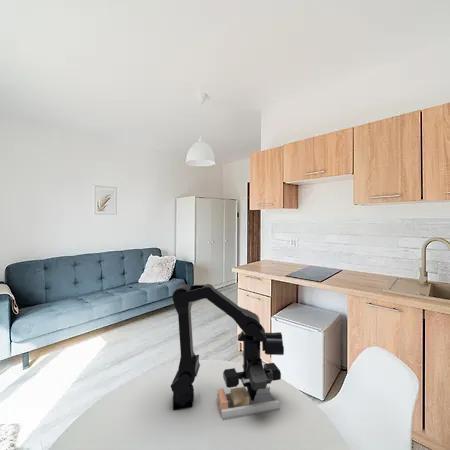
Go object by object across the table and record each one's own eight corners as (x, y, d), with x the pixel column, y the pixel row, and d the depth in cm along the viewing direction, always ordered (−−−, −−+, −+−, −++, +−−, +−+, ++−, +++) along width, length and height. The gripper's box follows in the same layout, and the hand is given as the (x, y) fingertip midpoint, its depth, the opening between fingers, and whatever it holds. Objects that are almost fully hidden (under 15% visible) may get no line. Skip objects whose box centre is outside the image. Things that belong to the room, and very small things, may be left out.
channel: (222, 423, 73) (222, 407, 73) (216, 400, 83) (216, 386, 83) (280, 413, 77) (280, 397, 78) (268, 392, 87) (268, 378, 87)
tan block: (234, 411, 77) (234, 399, 77) (230, 400, 82) (230, 388, 82) (249, 409, 78) (249, 396, 78) (244, 398, 83) (244, 386, 83)
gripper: (230, 370, 71) (231, 424, 71) (288, 362, 75) (289, 412, 75) (222, 351, 82) (222, 398, 82) (273, 345, 86) (274, 389, 86)
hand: (252, 399), depth 81 cm, fingers closed
